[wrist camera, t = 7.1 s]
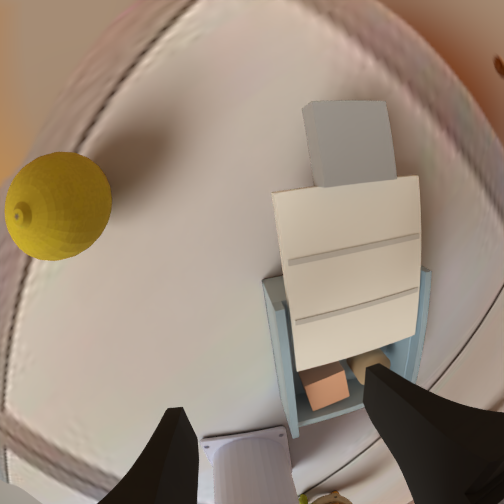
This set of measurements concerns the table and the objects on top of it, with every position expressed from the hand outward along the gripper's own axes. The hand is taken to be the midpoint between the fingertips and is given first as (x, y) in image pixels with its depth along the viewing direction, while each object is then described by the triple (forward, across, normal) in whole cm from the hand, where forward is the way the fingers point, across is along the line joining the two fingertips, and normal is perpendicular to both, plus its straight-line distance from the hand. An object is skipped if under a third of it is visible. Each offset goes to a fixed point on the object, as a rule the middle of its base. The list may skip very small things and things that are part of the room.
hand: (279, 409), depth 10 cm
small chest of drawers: (+6, -6, -4) cm, 10 cm away
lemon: (+10, +9, -9) cm, 16 cm away
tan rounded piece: (+9, -8, +6) cm, 14 cm away
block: (+9, -4, +7) cm, 12 cm away
